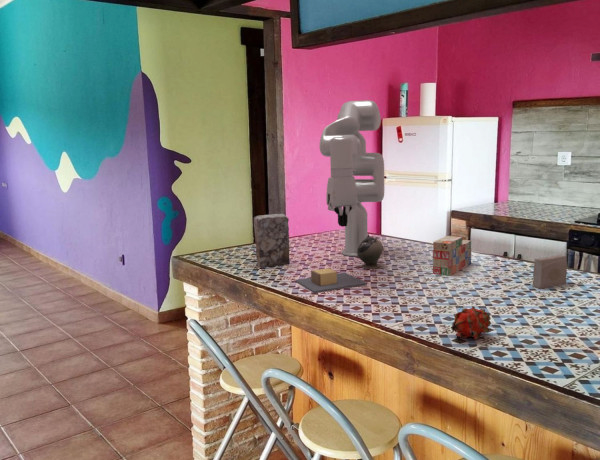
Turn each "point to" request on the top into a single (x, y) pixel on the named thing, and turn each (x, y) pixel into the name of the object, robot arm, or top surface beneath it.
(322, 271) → the block
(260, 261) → the stone block
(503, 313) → the top surface
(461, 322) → the dragon fruit
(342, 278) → the mat
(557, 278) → the taupe upright slab
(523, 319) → the top surface
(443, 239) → the stack of blocks
